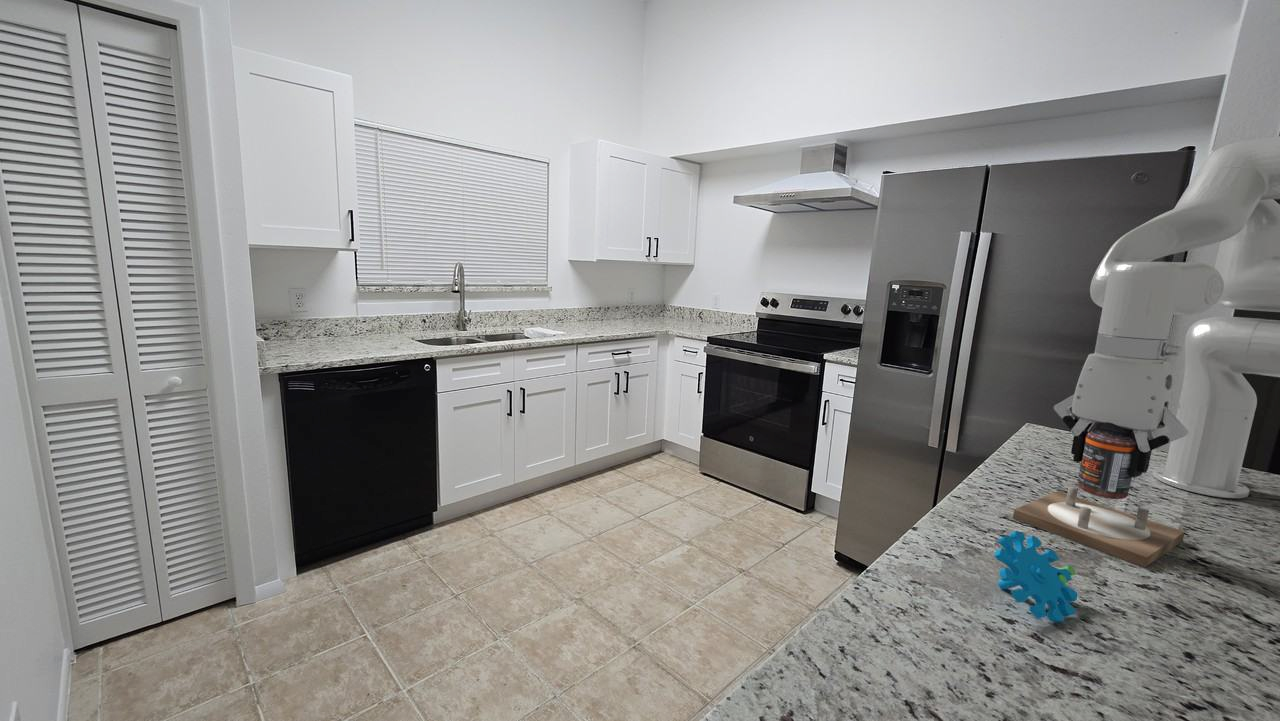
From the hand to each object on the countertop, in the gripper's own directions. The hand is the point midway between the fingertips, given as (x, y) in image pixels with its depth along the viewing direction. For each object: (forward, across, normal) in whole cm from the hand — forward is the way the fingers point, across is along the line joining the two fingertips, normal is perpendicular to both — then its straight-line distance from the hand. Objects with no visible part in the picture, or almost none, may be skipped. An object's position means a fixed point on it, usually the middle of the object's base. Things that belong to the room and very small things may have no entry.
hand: (1106, 466), depth 80 cm
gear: (+11, -4, +30) cm, 32 cm away
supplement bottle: (+4, 0, 0) cm, 4 cm away
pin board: (+10, 0, 0) cm, 10 cm away
